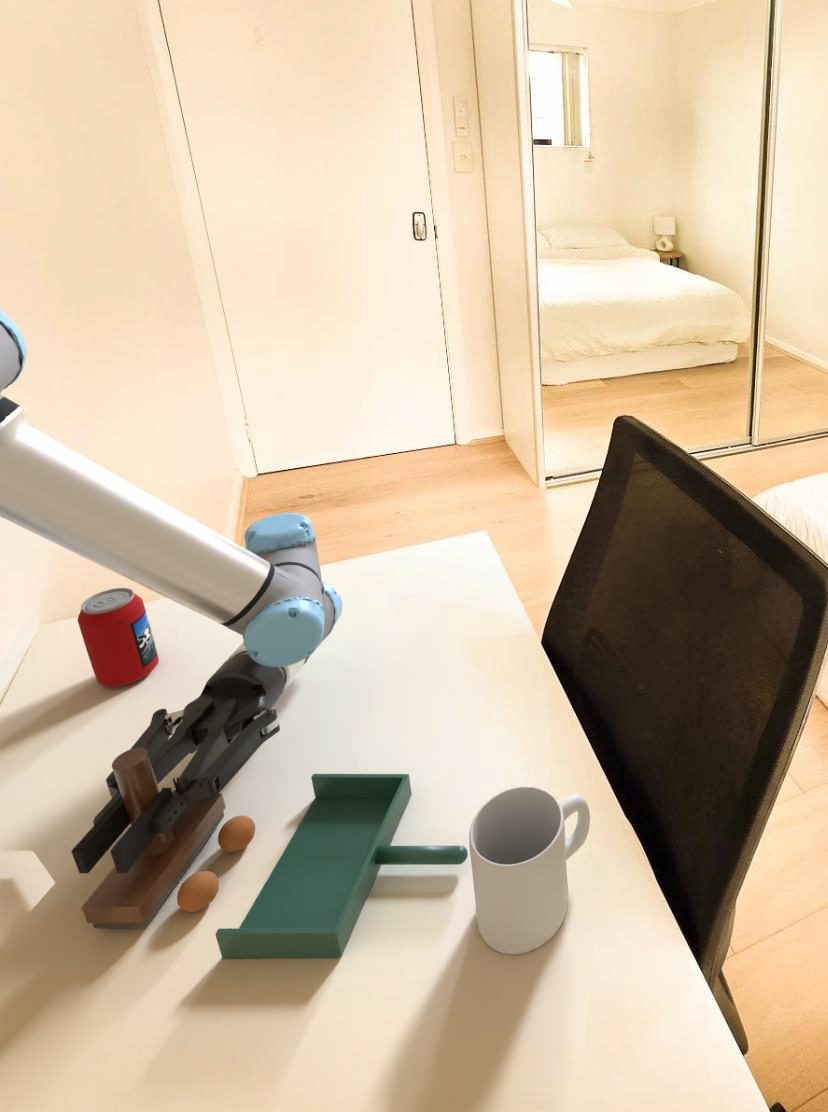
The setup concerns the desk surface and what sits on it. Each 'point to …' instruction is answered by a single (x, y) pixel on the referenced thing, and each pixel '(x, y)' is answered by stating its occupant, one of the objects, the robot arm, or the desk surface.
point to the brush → (149, 850)
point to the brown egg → (198, 891)
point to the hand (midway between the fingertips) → (99, 861)
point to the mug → (523, 865)
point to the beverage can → (117, 637)
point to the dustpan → (330, 869)
